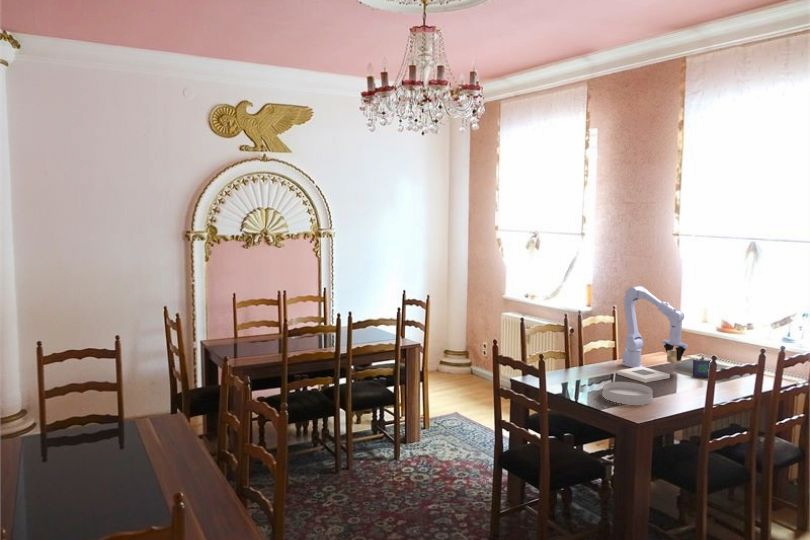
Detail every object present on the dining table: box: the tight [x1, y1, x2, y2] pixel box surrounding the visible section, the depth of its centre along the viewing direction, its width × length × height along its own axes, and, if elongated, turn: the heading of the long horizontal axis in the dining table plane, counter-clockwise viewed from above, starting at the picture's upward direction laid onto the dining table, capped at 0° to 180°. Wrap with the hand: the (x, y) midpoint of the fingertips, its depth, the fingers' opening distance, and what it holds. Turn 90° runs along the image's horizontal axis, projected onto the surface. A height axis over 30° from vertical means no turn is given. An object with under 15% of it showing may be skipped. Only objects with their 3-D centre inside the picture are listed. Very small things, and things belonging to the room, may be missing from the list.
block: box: [666, 349, 683, 365], centre depth 336 cm, size 5×5×6 cm
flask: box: [692, 356, 712, 378], centre depth 332 cm, size 9×3×11 cm, turn 87°
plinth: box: [617, 366, 671, 384], centre depth 333 cm, size 18×18×2 cm
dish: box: [601, 381, 654, 406], centre depth 295 cm, size 22×22×5 cm
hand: (674, 359), depth 336 cm, fingers closed on block, 5 cm apart
